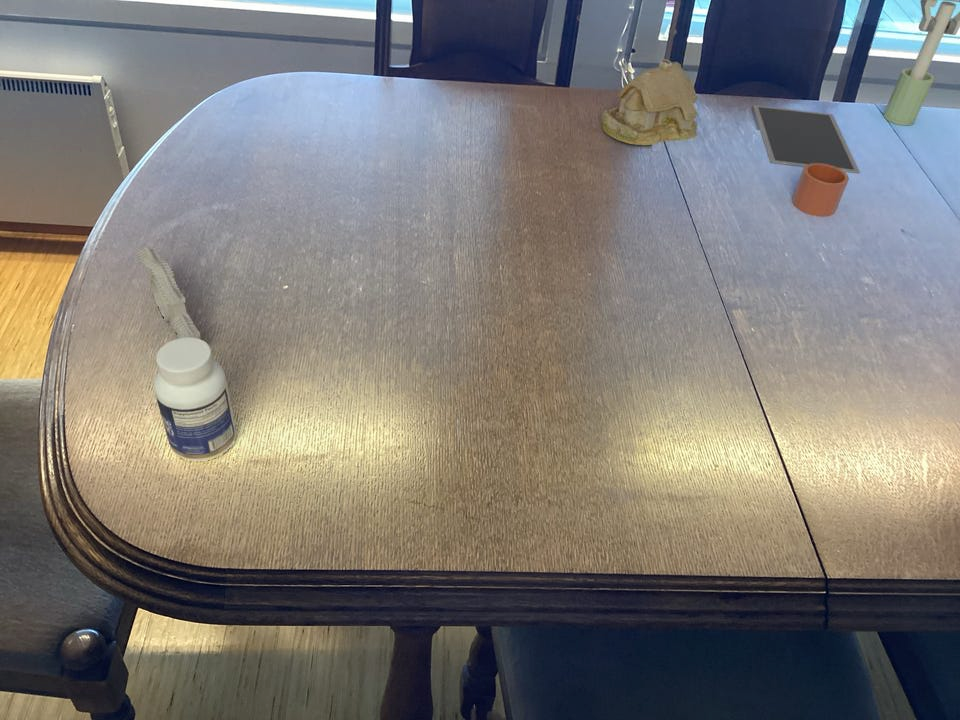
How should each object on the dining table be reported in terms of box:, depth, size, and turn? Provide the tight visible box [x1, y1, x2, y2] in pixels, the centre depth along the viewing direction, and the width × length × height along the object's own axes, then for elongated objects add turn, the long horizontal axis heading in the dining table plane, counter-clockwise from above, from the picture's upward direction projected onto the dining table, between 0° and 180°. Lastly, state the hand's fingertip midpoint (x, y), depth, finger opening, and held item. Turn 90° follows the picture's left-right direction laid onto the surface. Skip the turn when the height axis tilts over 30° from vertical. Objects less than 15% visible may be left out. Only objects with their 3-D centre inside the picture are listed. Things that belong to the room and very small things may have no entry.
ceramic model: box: [600, 58, 698, 146], centre depth 114 cm, size 14×11×10 cm
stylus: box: [909, 0, 957, 80], centre depth 119 cm, size 2×2×12 cm
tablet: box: [751, 104, 861, 175], centre depth 118 cm, size 12×18×1 cm, turn 173°
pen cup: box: [882, 67, 935, 126], centre depth 124 cm, size 5×5×7 cm
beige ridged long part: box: [137, 245, 202, 340], centre depth 77 cm, size 12×2×6 cm, turn 33°
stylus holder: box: [791, 163, 850, 218], centre depth 102 cm, size 5×5×5 cm
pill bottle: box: [153, 337, 237, 461], centre depth 65 cm, size 5×5×10 cm
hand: (936, 31), depth 117 cm, fingers closed on stylus, 2 cm apart
